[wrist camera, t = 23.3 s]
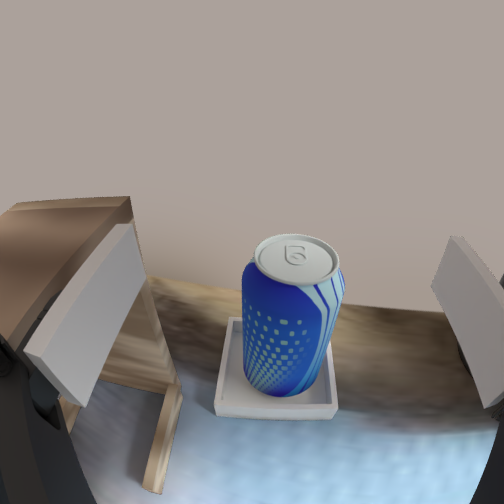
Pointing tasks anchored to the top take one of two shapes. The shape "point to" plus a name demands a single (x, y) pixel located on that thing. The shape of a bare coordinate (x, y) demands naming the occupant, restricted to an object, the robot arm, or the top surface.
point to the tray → (264, 406)
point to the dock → (57, 277)
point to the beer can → (289, 312)
